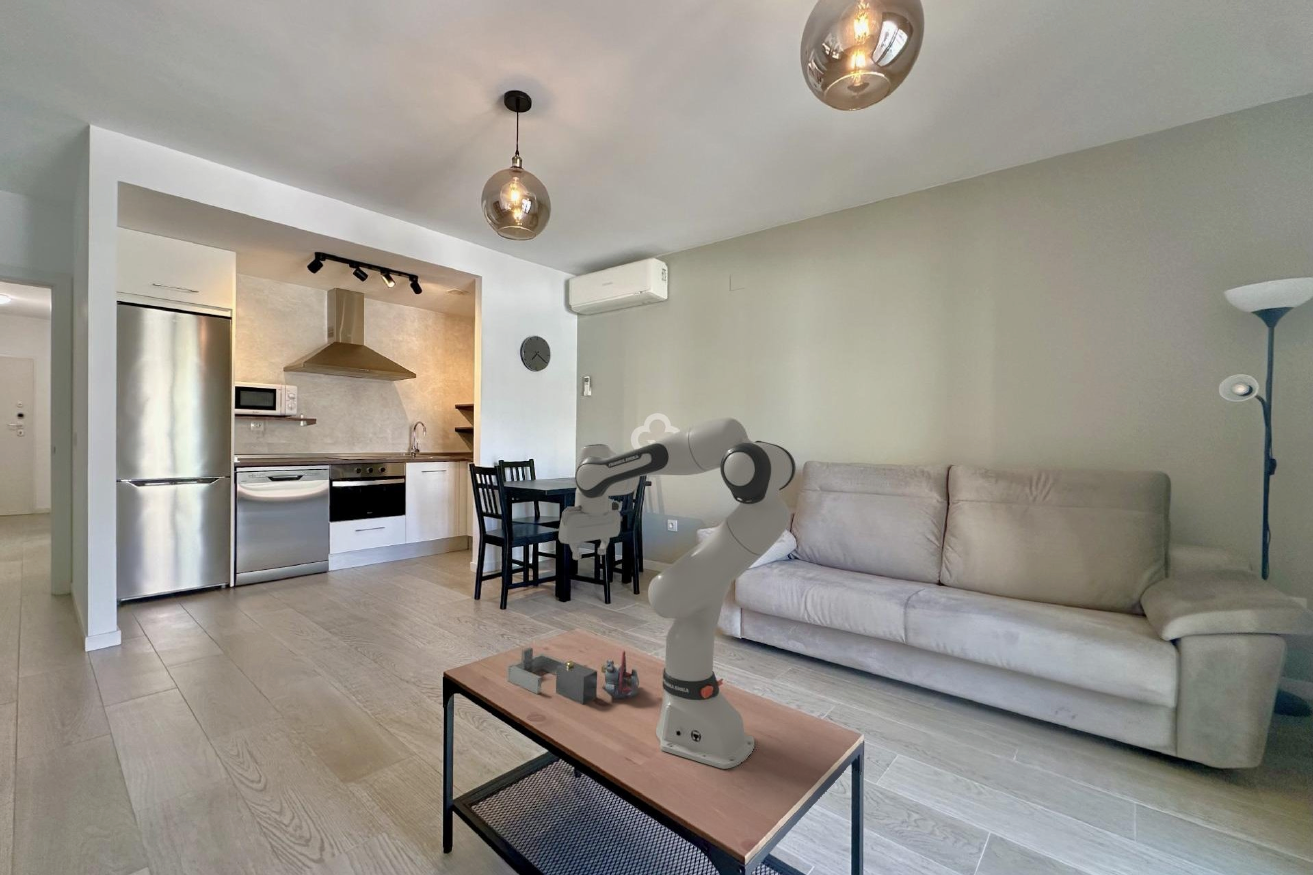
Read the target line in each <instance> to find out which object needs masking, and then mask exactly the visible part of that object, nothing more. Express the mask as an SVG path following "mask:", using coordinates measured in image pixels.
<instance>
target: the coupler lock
mask: <svg viewBox="0 0 1313 875" xmlns="http://www.w3.org/2000/svg"><path fill="white" fill-rule="evenodd" d="M555 678H556V679H555V680H556V681H555V683H556V684H555V694H558V695H560V696H562V697H564V698H567V699H569V700H571V701H574V702H575V703H578V704H581V705H585V704H587V703H589V702H591V701H593V700H594V699H597V690H598V689H597V687H598V670H596V669H593V668H590V667H587V666H585V665H583V664H580V663H577V662H574V661H572V660H569V661H567V663H564V664H562V665H559V666H557V675H555Z"/></svg>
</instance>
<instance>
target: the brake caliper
mask: <svg viewBox="0 0 1313 875" xmlns="http://www.w3.org/2000/svg"><path fill="white" fill-rule="evenodd" d="M626 661H627V660H626V650H623V651H622V654H621V663H620V664H615V661H614V659H611V660H606V663H605V665H606V666H605V667H606V672H604V682H605V685H603V686H602V687H601V688H602V689H603V690H604V691H605V692H606V693H607V694H608V695H610V697H611V698H612V699H617V700H618V699H622V698H624V699H625V698H630V699H631V698H635V697H636V696H637V694H638V691H639V686H640V685H639V684H640V679H639V676H638V671H637V669H636V668H632V669H631V673H627V662H626Z"/></svg>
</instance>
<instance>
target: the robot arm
mask: <svg viewBox="0 0 1313 875" xmlns="http://www.w3.org/2000/svg"><path fill="white" fill-rule="evenodd" d="M716 469H720V475H721V478H722V481H723V482H724V484H725V485H726V487H727V488H728V490H730V493H731V495H732V496H733V499H734V500H735V501H736V502H738V503H739V504H738V506H737V507H736V508H735V509H734V510H733V511H732V512H731V513H730V514H729V515H728V516H727V517H726V518H725V519H724V520H723V521H722V522H721V523H720V524H719V525H718V526H717V527H716V528H715V529H713V531H712V532H711V533H710V534H709V535H708V536H707V537H705V539H703V540H702V541H701V542H699V543H698V544H696V546H694V547H692V548H691V549H690V550H689V551H687V552H686V553H684V554H683V555H682V556H681V557H679V558H678V559H676V560H675V561H674V562H673V563H672V564H671V565H669V566H668V567H667V568H665V569H664V570H663V571H661V572H660V573H658V574H657V575H656V576H654V577H653V578H652V579H651V581H650V583H649V585H648V589H647V590H648V591H647V596H648V602H649V604H650V607H651V608H652V610H653V611H654V613H655V614H657V615H658V616H659V617H661V618H663V619H674V620H673V623H672V625H671V626H670V628H669V630H668V632H667V634H666V638H665V662H664V663H665V664H664V669H663V672H662V688H663V697H662V703H661V704H662V705H661V709H660V710H661V711H660V713H659V714H660V715H659V719H658V722H657V725H656V728H655V734H656V737H657V739H658V740H659V742H660V743H659V749H660V750H661V751H663V752H666V753H670V754H673V755H676V756H679V757H682V758H685V759H690V760H693V761H696V762H699V763H702V764H705V765H709V766H713V767H716V768H719V769H722V770H726V769H732V768H734V767H736V766H738V765H740V764H742V763H743V762H744V761H746V760H747V759H748V758H749V757H750V756H751V755H752V753H753V752H754V750H753V749H755V739H754V737H753V736H751V735H749V734H747V733H746V732H745V726H744V721H743V717H742V715H741V713H740V711H738V710H737V709H736V708H735V707H734V706H733V705H732V704H731V702H730V701H729V700H728V699H727V698H726V696H725V695H724V694H723V693H722V692H721V691H720V686H722V685H723V680H724V678H721V679H719V680H717V677H716V674H715V672H714V653H715V652H714V651H715V638H716V633H717V628H718V623H719V620H720V616H721V612H722V608H723V604H724V602H725V599H726V597H727V595H728V593H729V592H730V589H731V586H732V582H734V581H735V580H737V579H738V578H740V577H741V576H742V575H743V574H744V573H745V572H747V570H749V568H751V567H752V566H753V565H754V564H755V563H756V562H758V560H759V559H760V558H762V556H764V555H765V554H766V553H767V551H769V550H770V549H772V547H773V545H774V544H776V542H778V540H779V539H780V538H781V537H782V535H783V534H784V533H785V531H786V529H788V526H789V525H790V523H791V522H790V521H791V518H792V517H791V512H790V509H789V507H788V505H787V504H786V502H785V501H784V500H783V499H782V497H781V495H780V491H781V490H783V489H785V488H786V487H787V486H789V485H790V483H791V482H792V481H793V479H794V477H795V475H796V462H795V459H794V457H793V455H792V454H791V452H789V450H787V449H785V448H784V447H783V446H780V445H778V444H775V443H770V442H766V441H761V440H756V441H752V440H750V439H749V435H748V433H747V431H746V428H745V427H744V425H743V424H742V423H741V422H740V421H738V420H737V419H735V418H731V417H726V418H719V419H718V418H717V419H713V420H708V421H705V422H701V423H698V424H695V425H692V426H689V427H687V428H685V429H682V430H680V431H678V432H676V433H674V434H671V435H668V436H667V437H666V436H665V437H664V438H662V439H660V440H658V441H655V442H652V443H649V444H647V445H645V446H642V447H638V448H636V449H633V450H630V451H626V452H624V453H623V452H622V453H620V454H617V453H615V452H614V451H612V449H611V448H610V447H609V445H607V444H604V443H598V444H597V443H596V444H587V445H585V446H583V447H581V448H580V450H579V452H578V456H577V462H576V471H575V478H574V479H575V484H576V489H575V498H574V501H575V502H574V506H567V507H566V508H565V509H564V510H563V511H562V513H561V518H560V522H559V523H560V524H559V528H558V530H559V531H558V540H559V541H560V543H561V544H565V545H566V544H567V545H569V548H570V550H571V552H572V559H573V561H574V560H575V561H578V560H581V559H582V552H581V551H579V550H580V549H579V547H580V543H585V542H590V541H595V540H600V541H601V542H600V545H599V547H597V555H599V556H604V555H606V554H607V548H608V546H609V543H610V538H614V537H618V536H619V534H620V533H621V532H620V531H621V513H620V510H621V509H622V508H621V507H622V505H621V504H622V503H620V502H619V501H616V500H614V499H612V498H609V496H610V497H611V496H613V497H614V496H622V495H623V496H624V495H628V494H631V493H634V491H636V490H637V489H638V487H639V484H640V480H641V477H643V476H651V475H653V476H654V475H655V476H656V475H659V476H661V475H664V476H692V475H697V474H702V473H707V472H710V471H713V470H716ZM752 751H753V752H752ZM750 754H751V755H750ZM749 755H750V756H749ZM748 756H749V757H748ZM741 762H742V763H741Z"/></svg>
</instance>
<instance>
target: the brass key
mask: <svg viewBox="0 0 1313 875" xmlns="http://www.w3.org/2000/svg"><path fill="white" fill-rule="evenodd" d="M605 666H606V664H603V665H601V673H605V672H606V667H605Z"/></svg>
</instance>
